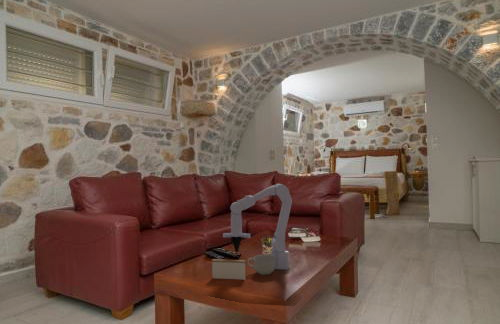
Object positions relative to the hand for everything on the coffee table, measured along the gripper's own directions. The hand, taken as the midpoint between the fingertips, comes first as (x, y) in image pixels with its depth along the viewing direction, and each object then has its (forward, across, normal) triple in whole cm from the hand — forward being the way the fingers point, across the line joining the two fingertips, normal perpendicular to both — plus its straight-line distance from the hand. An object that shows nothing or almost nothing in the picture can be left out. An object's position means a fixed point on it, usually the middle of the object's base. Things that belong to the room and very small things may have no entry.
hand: (236, 251), depth 174 cm
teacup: (+10, -14, +4) cm, 17 cm away
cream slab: (+9, +1, +14) cm, 17 cm away
